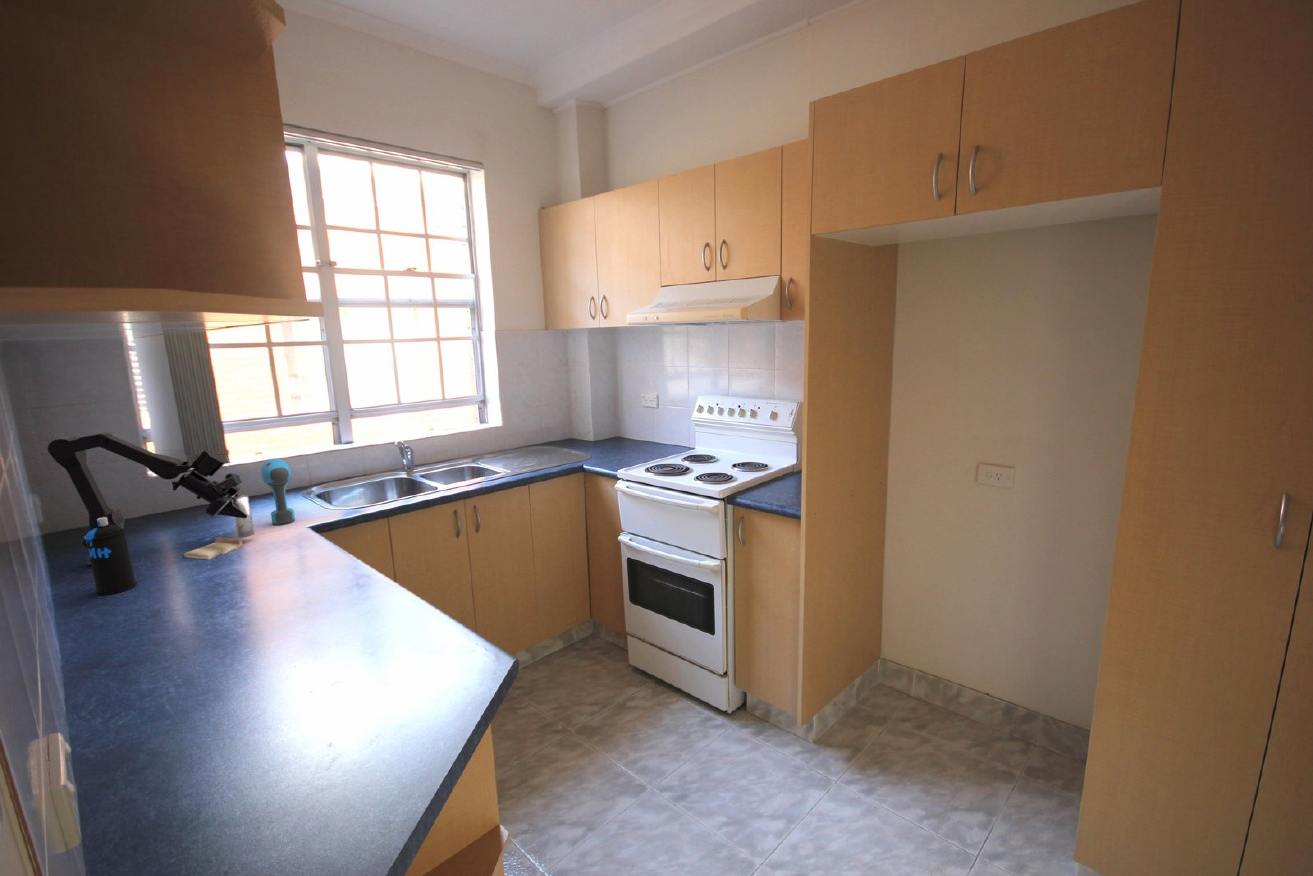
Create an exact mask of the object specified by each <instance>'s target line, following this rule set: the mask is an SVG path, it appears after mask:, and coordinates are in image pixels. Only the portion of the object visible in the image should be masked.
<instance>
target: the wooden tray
mask: <svg viewBox="0 0 1313 876" xmlns="http://www.w3.org/2000/svg"><path fill="white" fill-rule="evenodd" d="M214 540H215V542H213V543H209V544H208V545H203V546H202V547H198V548H195V549H193V550H190V551H187V552H185V553H183V555H184V558H189V559H191V558H192V559H198V560H199V559H201V560H212V559H213V558H217V557H219V556H221V555H220V554H222V555H225V554H227V553H230V552H232V551H231V550H233V549H235V550H238V549H240V548H242V546H243V547H244V545H243V540H242V538H233V537H222V536H218V537H215V538H214ZM229 551H230V552H229ZM233 551H234V550H233ZM218 555H219V556H218ZM216 556H217V557H216Z"/></svg>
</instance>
